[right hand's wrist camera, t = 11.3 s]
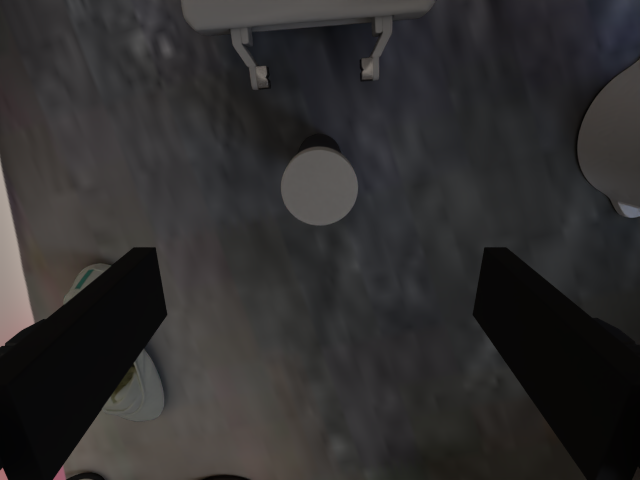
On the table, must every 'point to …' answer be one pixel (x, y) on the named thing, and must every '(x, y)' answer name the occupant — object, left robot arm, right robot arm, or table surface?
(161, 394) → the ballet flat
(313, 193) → the lid
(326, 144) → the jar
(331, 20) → the left robot arm
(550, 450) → the table surface
